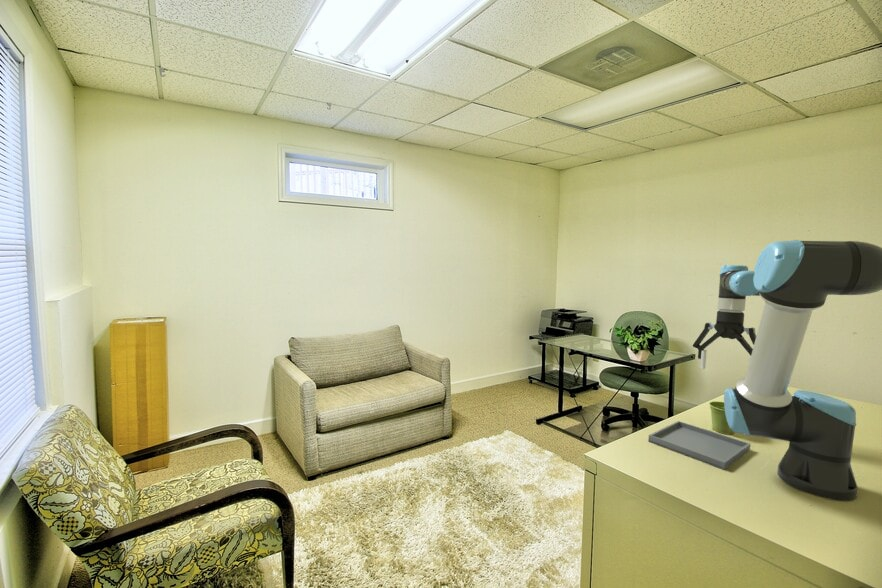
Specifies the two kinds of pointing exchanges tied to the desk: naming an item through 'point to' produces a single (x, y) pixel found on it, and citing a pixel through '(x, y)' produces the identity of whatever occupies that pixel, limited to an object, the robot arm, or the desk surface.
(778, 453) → the desk surface
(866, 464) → the desk surface
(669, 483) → the desk surface
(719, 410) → the plant pot
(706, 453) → the tray
